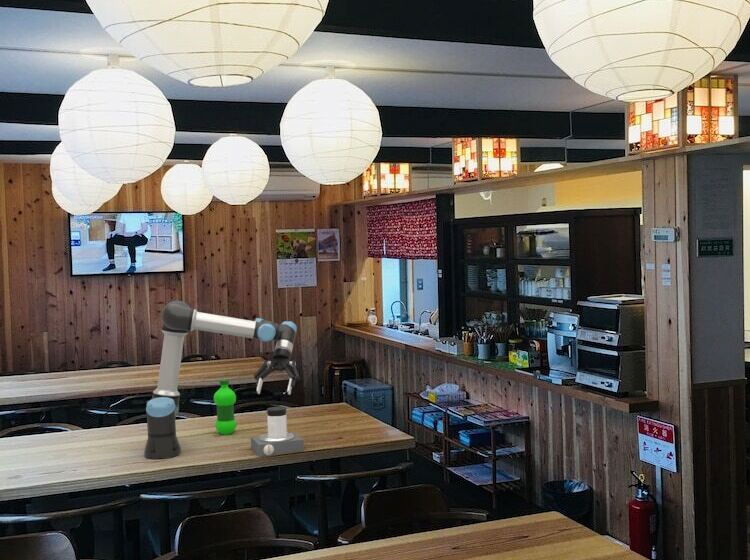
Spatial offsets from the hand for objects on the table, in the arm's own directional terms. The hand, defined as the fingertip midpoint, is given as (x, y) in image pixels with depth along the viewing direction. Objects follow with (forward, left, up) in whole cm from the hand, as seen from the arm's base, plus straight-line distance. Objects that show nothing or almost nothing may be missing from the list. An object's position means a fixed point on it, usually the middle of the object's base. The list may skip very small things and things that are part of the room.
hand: (273, 392), depth 345 cm
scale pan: (+1, +2, -20) cm, 20 cm away
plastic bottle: (-13, +43, -25) cm, 52 cm away
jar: (+2, +2, -19) cm, 20 cm away
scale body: (+1, +2, -25) cm, 25 cm away
